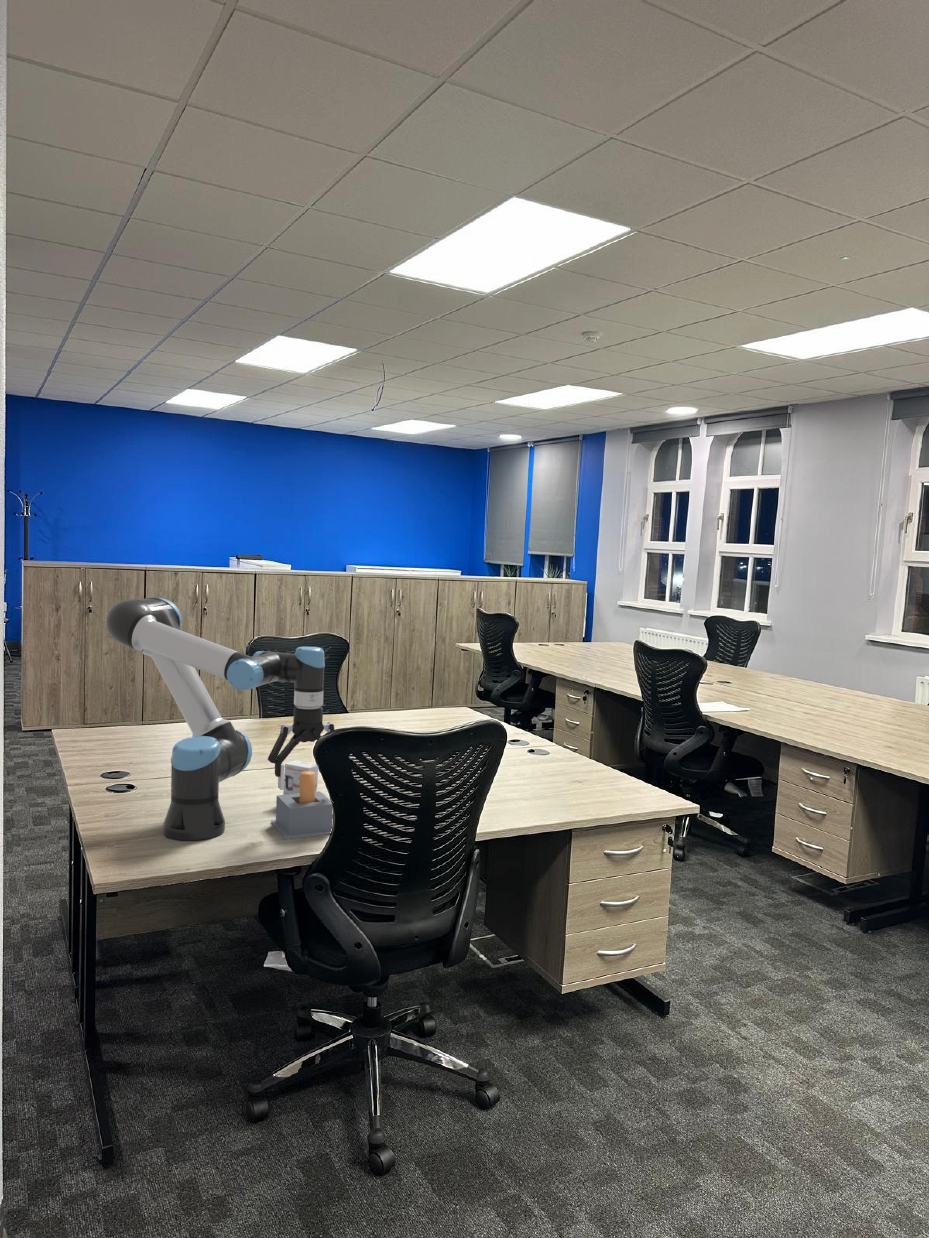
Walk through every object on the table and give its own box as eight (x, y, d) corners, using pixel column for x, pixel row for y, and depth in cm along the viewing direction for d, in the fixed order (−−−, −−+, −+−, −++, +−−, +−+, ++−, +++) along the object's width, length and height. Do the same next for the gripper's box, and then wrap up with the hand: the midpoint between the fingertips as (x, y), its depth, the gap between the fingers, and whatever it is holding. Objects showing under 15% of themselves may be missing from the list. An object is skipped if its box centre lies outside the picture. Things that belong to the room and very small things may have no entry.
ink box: (281, 803, 251) (283, 763, 250) (292, 799, 255) (293, 759, 254) (307, 809, 247) (308, 768, 246) (317, 804, 252) (318, 764, 251)
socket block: (286, 839, 222) (287, 809, 221) (271, 822, 234) (271, 794, 234) (338, 832, 229) (339, 804, 228) (321, 816, 241) (322, 789, 240)
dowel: (301, 828, 229) (302, 775, 228) (297, 823, 232) (298, 771, 231) (316, 826, 231) (317, 774, 229) (311, 821, 234) (312, 770, 233)
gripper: (265, 711, 219) (262, 794, 221) (358, 706, 231) (355, 785, 233) (257, 705, 226) (255, 786, 228) (348, 701, 238) (345, 778, 240)
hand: (305, 786), depth 230 cm, fingers open, 13 cm apart
